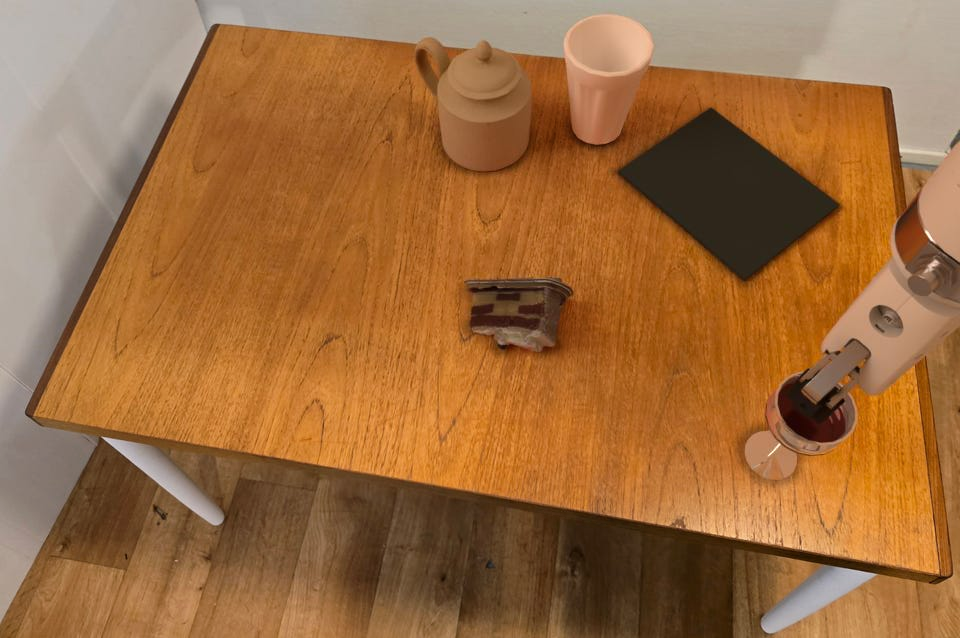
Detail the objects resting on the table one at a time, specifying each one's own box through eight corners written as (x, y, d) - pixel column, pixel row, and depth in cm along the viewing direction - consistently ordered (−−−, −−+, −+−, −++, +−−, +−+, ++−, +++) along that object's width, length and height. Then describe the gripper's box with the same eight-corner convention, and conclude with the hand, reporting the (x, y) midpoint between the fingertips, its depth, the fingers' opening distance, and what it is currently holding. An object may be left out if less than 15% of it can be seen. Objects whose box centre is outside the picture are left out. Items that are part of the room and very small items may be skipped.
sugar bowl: (402, 161, 92) (385, 65, 78) (424, 97, 97) (411, -3, 84) (521, 178, 90) (524, 83, 77) (537, 112, 95) (542, 12, 82)
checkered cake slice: (446, 342, 79) (521, 337, 70) (456, 279, 81) (532, 266, 72) (512, 361, 85) (590, 359, 76) (520, 302, 87) (598, 292, 77)
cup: (594, 171, 90) (607, 89, 79) (540, 124, 94) (544, 40, 82) (653, 131, 93) (674, 46, 81) (598, 87, 97) (610, 1, 85)
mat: (838, 207, 86) (840, 204, 86) (744, 281, 82) (745, 278, 81) (709, 110, 94) (710, 107, 94) (617, 173, 90) (618, 169, 89)
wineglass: (822, 466, 71) (876, 419, 61) (767, 502, 70) (814, 461, 59) (773, 410, 74) (817, 356, 64) (720, 443, 73) (756, 394, 62)
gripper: (935, 378, 37) (810, 478, 52) (1122, 201, 42) (959, 339, 57) (815, 279, 40) (730, 401, 55) (1003, 124, 45) (877, 275, 60)
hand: (846, 369), depth 56 cm, fingers open, 9 cm apart
